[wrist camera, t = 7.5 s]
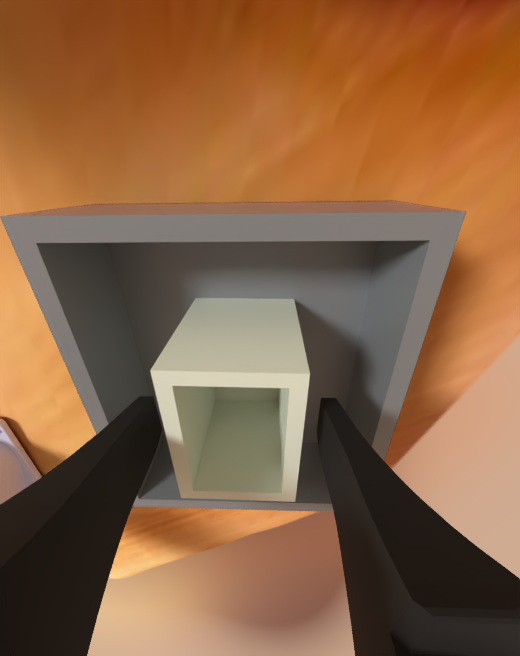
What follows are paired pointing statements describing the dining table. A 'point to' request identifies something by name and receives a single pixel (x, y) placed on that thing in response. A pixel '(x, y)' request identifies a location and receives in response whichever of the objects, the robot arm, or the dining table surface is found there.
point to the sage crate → (235, 399)
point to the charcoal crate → (241, 282)
